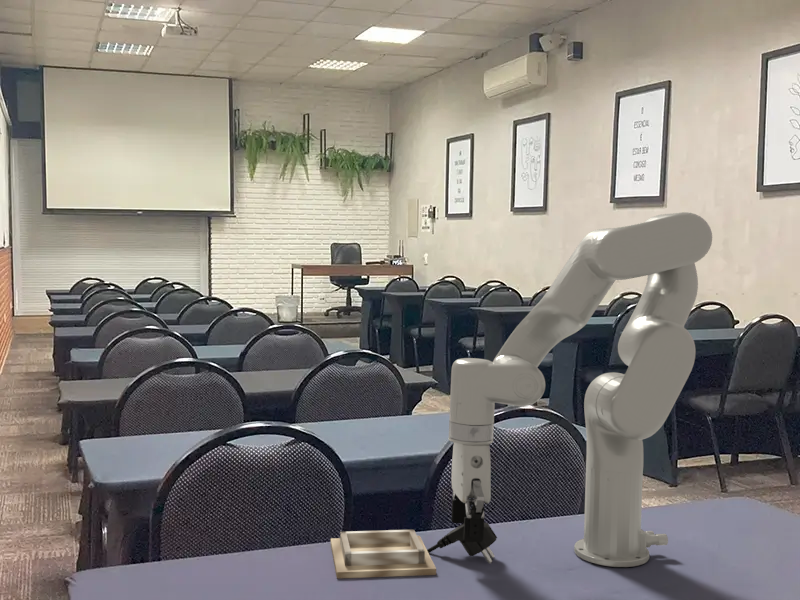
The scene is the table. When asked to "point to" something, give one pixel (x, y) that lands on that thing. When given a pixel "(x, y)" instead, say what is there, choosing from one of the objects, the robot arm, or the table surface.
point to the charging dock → (380, 554)
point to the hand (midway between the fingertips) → (466, 531)
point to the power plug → (470, 547)
